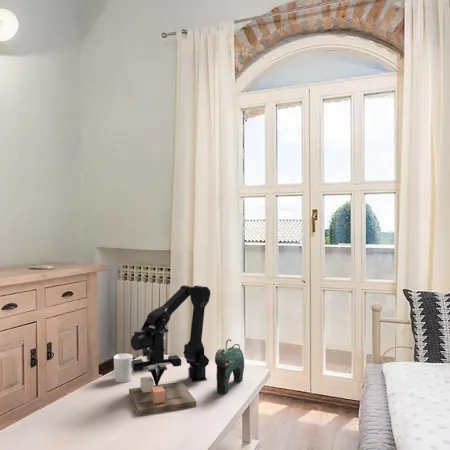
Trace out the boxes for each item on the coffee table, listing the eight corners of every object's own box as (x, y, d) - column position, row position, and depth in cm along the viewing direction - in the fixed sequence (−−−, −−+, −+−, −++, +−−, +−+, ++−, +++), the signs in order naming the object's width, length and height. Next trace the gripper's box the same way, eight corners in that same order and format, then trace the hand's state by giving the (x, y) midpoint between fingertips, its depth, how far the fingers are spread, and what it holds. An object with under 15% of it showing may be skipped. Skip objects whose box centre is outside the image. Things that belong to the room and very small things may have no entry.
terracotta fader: (161, 396, 155) (161, 385, 155) (164, 402, 150) (165, 390, 150) (151, 398, 153) (151, 387, 153) (153, 403, 148) (154, 392, 148)
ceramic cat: (224, 397, 160) (225, 345, 160) (210, 393, 163) (210, 342, 163) (247, 380, 178) (247, 333, 178) (233, 377, 181) (233, 331, 181)
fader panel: (181, 386, 170) (181, 381, 170) (196, 406, 152) (196, 400, 152) (129, 393, 162) (129, 388, 162) (138, 415, 144) (138, 409, 144)
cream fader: (150, 386, 164) (150, 376, 164) (153, 391, 160) (153, 380, 159) (140, 387, 163) (140, 377, 163) (142, 392, 158) (142, 382, 158)
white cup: (122, 384, 172) (123, 360, 172) (109, 380, 176) (109, 357, 176) (136, 378, 179) (136, 355, 179) (123, 375, 183) (123, 352, 183)
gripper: (174, 337, 173) (174, 375, 173) (129, 341, 166) (128, 381, 166) (181, 344, 163) (181, 384, 163) (133, 349, 156) (133, 391, 156)
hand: (156, 385), depth 162 cm, fingers closed
